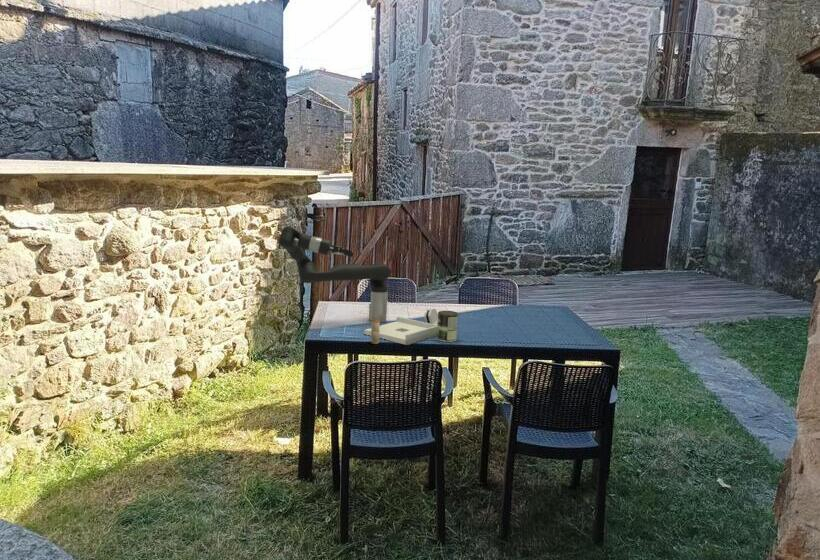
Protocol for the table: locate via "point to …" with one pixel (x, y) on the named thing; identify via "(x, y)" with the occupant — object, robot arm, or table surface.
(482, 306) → the table surface
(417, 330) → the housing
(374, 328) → the gear shaft
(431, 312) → the hinge
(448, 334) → the coffee can
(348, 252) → the robot arm
